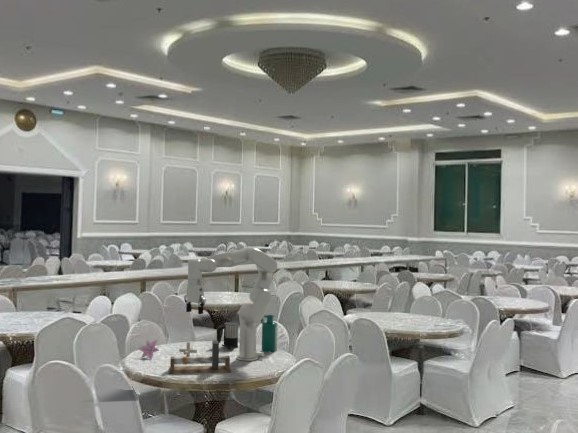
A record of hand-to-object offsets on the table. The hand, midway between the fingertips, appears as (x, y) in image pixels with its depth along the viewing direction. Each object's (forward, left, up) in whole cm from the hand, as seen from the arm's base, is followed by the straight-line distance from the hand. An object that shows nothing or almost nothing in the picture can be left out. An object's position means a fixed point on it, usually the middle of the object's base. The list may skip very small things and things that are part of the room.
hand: (194, 312), depth 339 cm
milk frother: (-23, -38, -29) cm, 53 cm away
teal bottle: (-46, -30, -29) cm, 62 cm away
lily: (+25, -18, -29) cm, 42 cm away
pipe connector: (+3, -10, -29) cm, 31 cm away
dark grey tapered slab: (-11, +14, -27) cm, 32 cm away
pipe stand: (-3, +14, -29) cm, 32 cm away
